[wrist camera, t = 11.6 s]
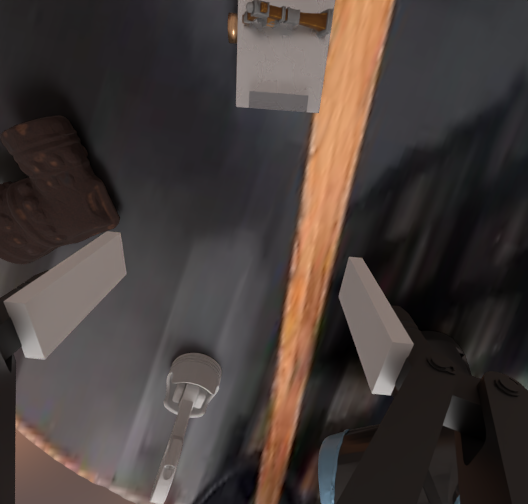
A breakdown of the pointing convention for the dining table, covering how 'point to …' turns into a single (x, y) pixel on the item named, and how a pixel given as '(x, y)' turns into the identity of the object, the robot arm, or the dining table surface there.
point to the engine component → (184, 409)
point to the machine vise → (279, 60)
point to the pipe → (50, 192)
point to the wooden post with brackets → (287, 17)
